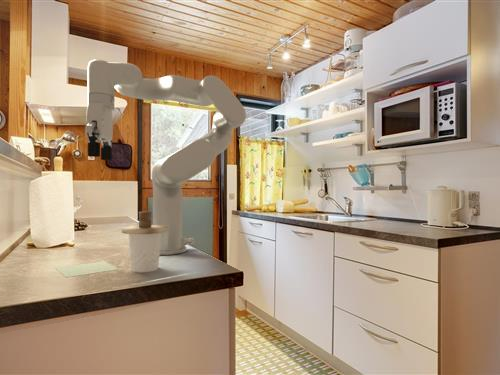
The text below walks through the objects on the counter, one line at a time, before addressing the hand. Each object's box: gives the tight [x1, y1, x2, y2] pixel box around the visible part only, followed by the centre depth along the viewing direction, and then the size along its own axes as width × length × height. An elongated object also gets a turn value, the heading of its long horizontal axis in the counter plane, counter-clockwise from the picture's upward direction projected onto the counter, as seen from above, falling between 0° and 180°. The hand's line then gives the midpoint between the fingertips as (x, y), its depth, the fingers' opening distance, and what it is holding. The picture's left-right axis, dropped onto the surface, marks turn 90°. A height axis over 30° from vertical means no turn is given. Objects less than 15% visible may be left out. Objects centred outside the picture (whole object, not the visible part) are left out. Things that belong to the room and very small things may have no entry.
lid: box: [121, 211, 167, 235], centre depth 80 cm, size 11×11×5 cm
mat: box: [55, 260, 119, 278], centre depth 80 cm, size 12×12×1 cm
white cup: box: [128, 233, 161, 273], centre depth 80 cm, size 8×8×10 cm
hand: (100, 158), depth 96 cm, fingers open, 9 cm apart
